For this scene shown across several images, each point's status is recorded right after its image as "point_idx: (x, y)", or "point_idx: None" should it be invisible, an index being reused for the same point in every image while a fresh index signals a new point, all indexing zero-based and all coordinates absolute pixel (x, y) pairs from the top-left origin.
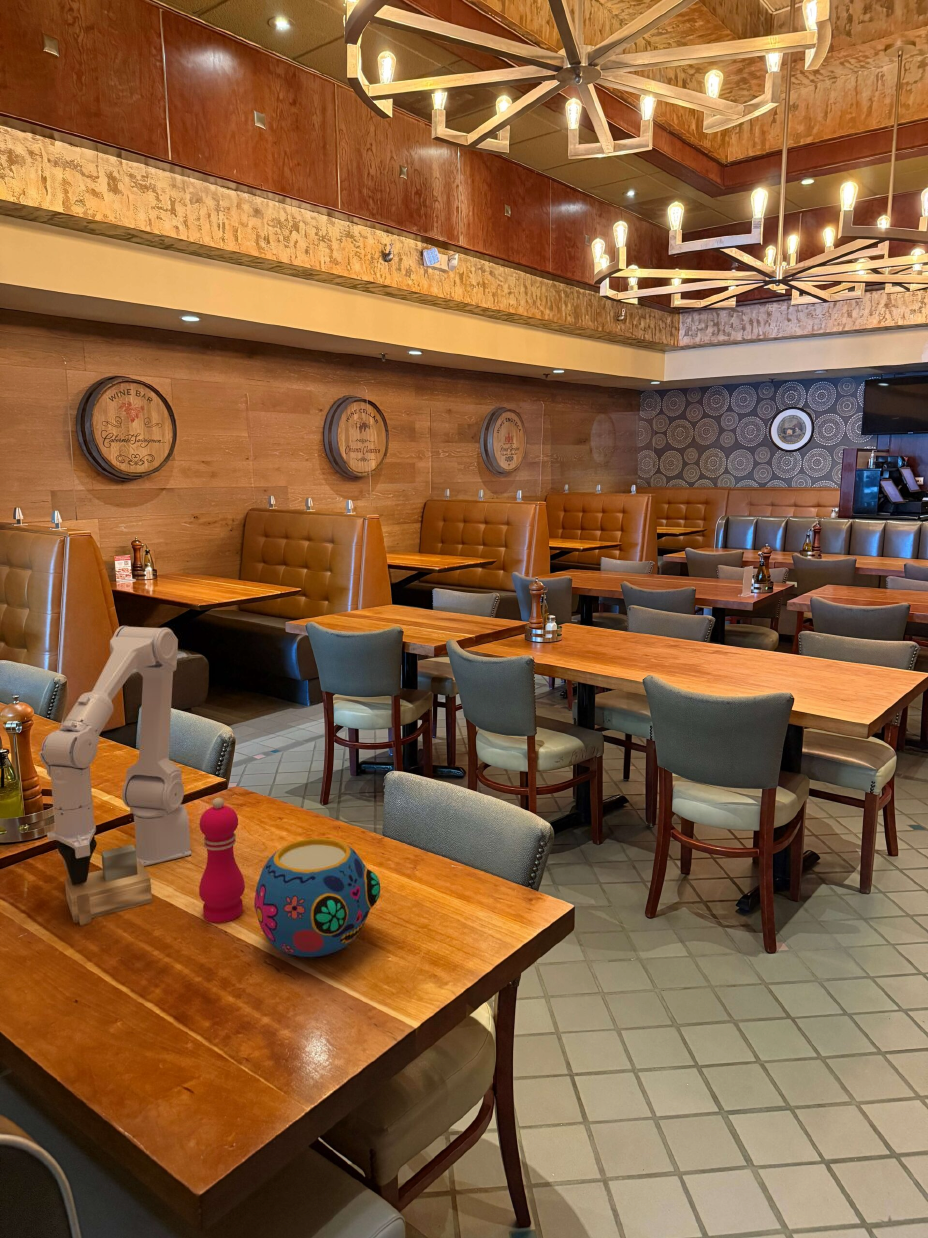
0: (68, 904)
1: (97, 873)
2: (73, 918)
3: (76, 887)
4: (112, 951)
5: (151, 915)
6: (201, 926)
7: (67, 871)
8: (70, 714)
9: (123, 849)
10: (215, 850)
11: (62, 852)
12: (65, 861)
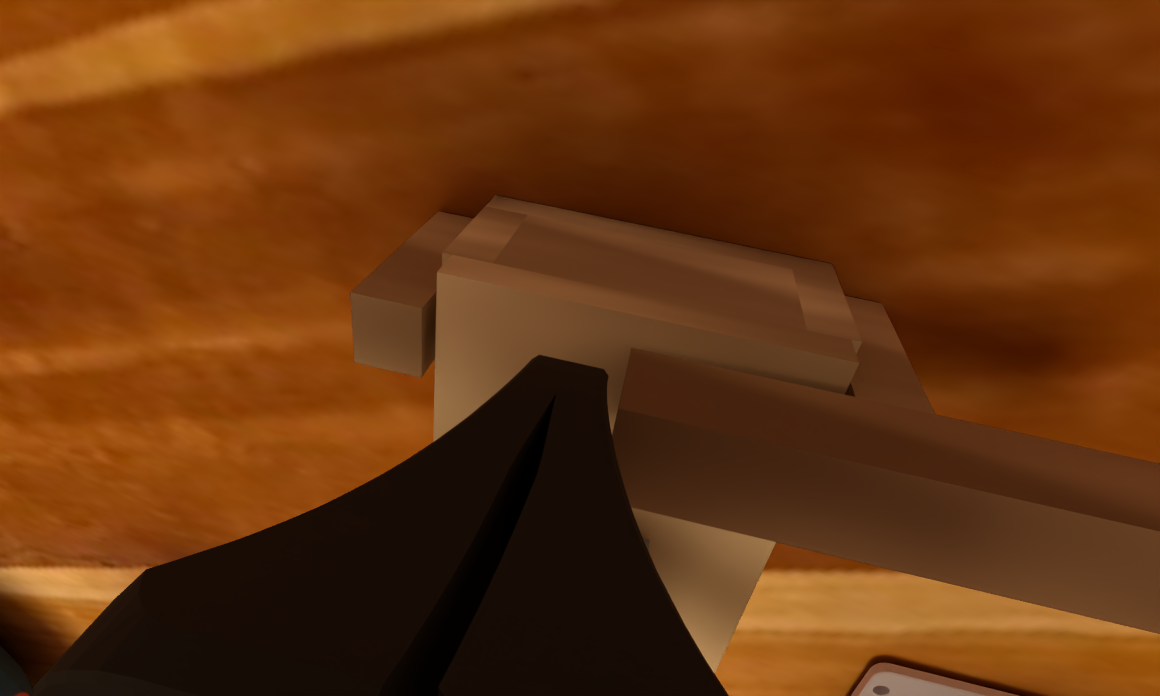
0: (745, 254)
1: (726, 539)
2: (514, 208)
3: (602, 362)
4: (87, 234)
5: (353, 481)
6: (174, 542)
7: (890, 426)
8: None
9: None
10: None
11: (81, 642)
12: (320, 506)
